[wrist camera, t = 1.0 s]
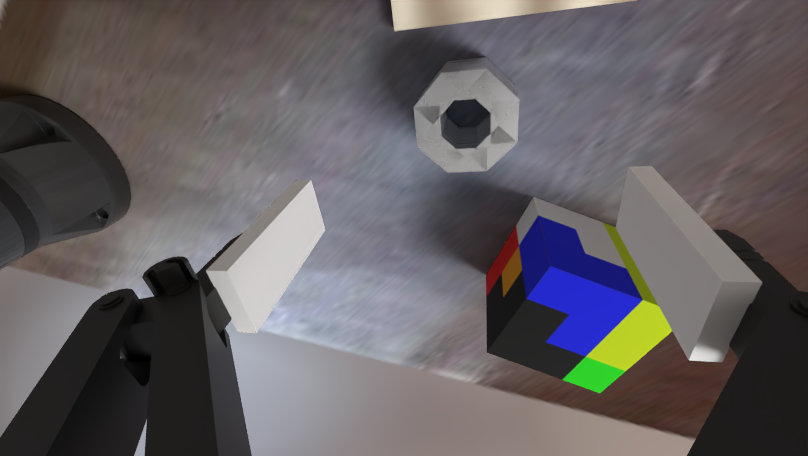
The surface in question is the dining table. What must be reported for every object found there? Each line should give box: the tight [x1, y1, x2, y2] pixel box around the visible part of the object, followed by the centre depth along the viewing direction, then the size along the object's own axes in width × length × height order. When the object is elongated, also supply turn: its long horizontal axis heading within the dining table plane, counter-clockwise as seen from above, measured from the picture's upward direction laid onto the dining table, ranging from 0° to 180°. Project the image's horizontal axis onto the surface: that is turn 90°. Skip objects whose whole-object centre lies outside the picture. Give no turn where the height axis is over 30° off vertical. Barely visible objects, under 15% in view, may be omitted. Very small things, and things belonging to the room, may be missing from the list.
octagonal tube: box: [413, 57, 519, 173], centre depth 27 cm, size 7×7×5 cm
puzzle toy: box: [486, 197, 672, 393], centre depth 31 cm, size 10×10×10 cm
